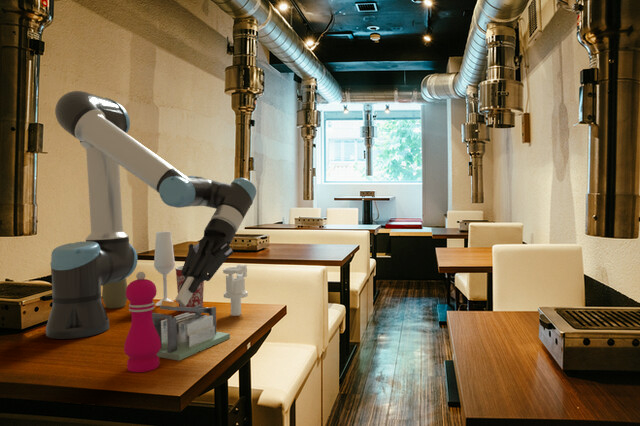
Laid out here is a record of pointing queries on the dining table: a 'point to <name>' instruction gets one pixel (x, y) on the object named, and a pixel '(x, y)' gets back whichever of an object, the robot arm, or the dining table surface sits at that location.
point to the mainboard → (186, 352)
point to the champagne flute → (164, 259)
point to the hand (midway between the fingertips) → (180, 302)
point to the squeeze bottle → (115, 294)
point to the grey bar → (173, 306)
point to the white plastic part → (235, 287)
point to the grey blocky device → (185, 329)
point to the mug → (197, 296)
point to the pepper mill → (142, 326)
